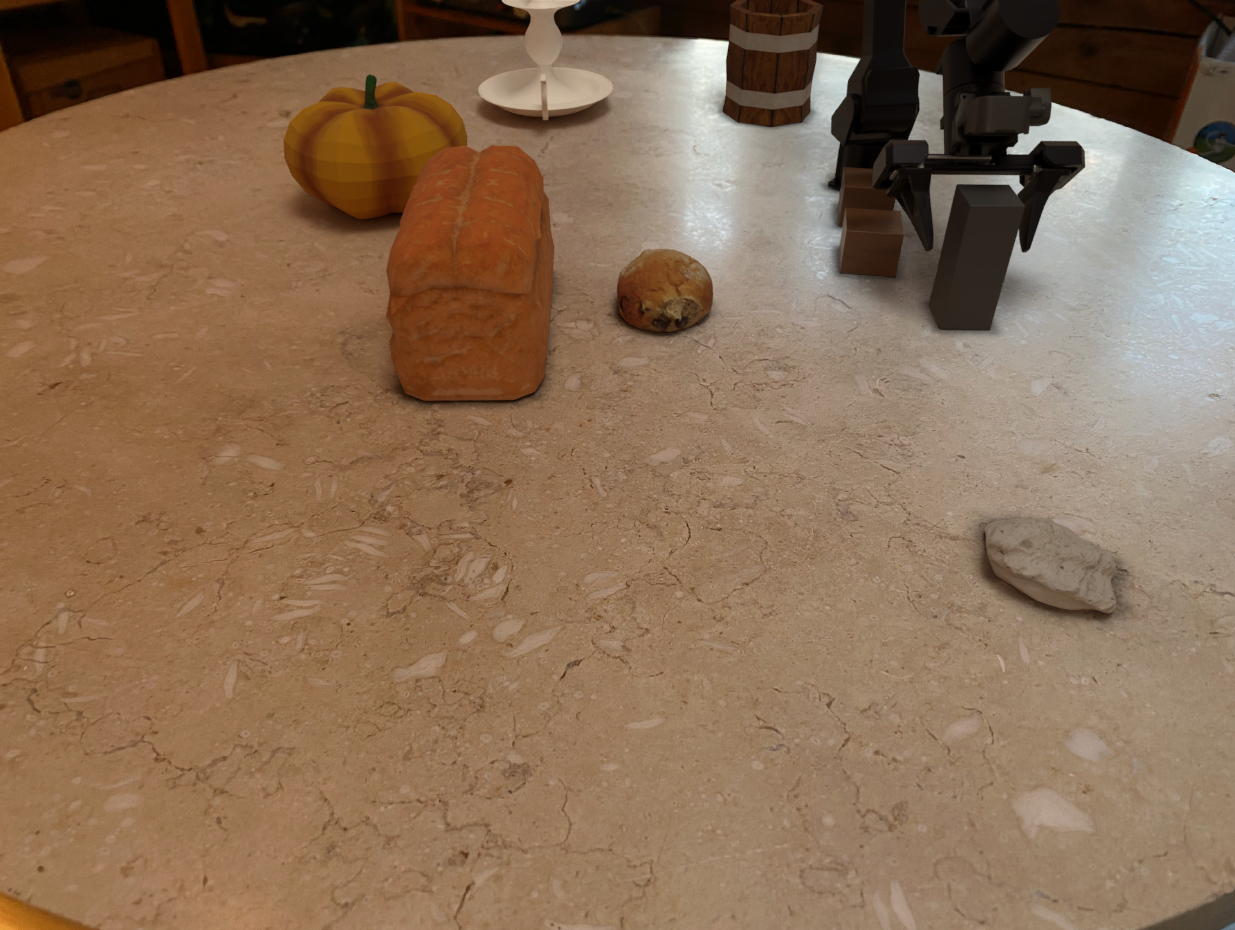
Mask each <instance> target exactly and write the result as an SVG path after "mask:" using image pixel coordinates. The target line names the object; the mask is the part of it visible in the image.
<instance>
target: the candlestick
mask: <svg viewBox="0 0 1235 930" xmlns="http://www.w3.org/2000/svg"><path fill="white" fill-rule="evenodd" d="M580 1H581V0H501V2H502V3H503V4H504V5H507V6H510V7H513V8H517V9H520V10H524V11H526V12H527V13H528V14H529V16H530V21H529V24H528V27H527V28H526V31H525V34H524V40H523V43H524V47H525V50H526V52H527V54H528V57H530V59H531V60H532V61H533V62H534V63H536V67H528V68H527V67H526V68H520V69H514V70H508V71H505V72H502V73H498V74H495V75H493V76H490V77H489V78H487V79H485V80H484V81H483V82H481V83H480V85H478V89H477V92H478V95H479V96H480V97H481V98H482V99H483V100H485V101H486V102H488V103H490V104H493V105H496V106H497V107H499V108H500V109H502V110H504V111H507V112H510V113H514V115H519V116H524V117H535V118H542V121H548V120H549V118H550V117H563V116H568V115H572V114H576V113H578V112H582V111H585V110H586V109H589V108H590V107H592V106H594V105H595V104H596V103H597V102H600V101H601V100H604V99H605V98H607V97H608V96H609V95H610V94H611V93H612V92H613V90H614V85H613V83H612V82H611V80H610V79H608V78H607V77H606V76H604V75H602V74H600V73H596V72H593V71H589V70H585V69H580V68H573V67H562V66H561V67H560V66H559V67H558V66H555V67H553V63H554V62H555V61H556V60H557V59H558V57H559V55H560V54H561V51H562V48H563V41H564V40H563V35H562V33H561V31H560V29H559V27H558V25H557V23H556V21H555V13H556V12H557V11H558V10H561V9H563V8H567V7H570V6H573V5H575V4H577V3H579V2H580Z"/></svg>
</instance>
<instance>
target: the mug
mask: <svg viewBox="0 0 1235 930" xmlns="http://www.w3.org/2000/svg"><path fill="white" fill-rule="evenodd" d="M728 7H729V35H728V45H727V52H726V57H725V75H726V76H725V77H726V79H725V80H726V81H725V96H724V101H723V106H722V113H723V114H725V115H726V116H728V117H729V118H731V119H732V120H734V121H735V122H737V123H739V124H740V123H741V124H746V125H747V124H748V125H754V126H762V127H767V128H773V127H780V126H788V125H794V124H801V123H803V122H804V120H805V119H806V118H807V117H808V116H809V114H810V113H811V107H812V106H811V105H812V104H811V102H812V101H811V99H812V98H811V96H812V87H813V79H814V75H815V70H816V66H817V65H816V64H817V58H818V57H817V55H818V37H819V29H820V22H821V17H822V14H823V10H824V5H823V4H821V3H819V2H816V1H813V0H735V1H733V2H732V3H731V4H730V5H729V6H728Z"/></svg>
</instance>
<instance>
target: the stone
mask: <svg viewBox="0 0 1235 930" xmlns="http://www.w3.org/2000/svg"><path fill="white" fill-rule="evenodd" d="M983 532H984V534H985V549H986V555H987V558H988V561H989V563H990V567H991V568H992V571H993V574H995V576H996V577H998V578H999V579H1001V580H1002V581H1004V582H1006V583H1008V584H1009V585H1011V586H1012V587H1014V588H1015V589H1017V590H1018V591H1019V592H1021V593H1023V594H1025V595H1026V596H1028V597H1030V598H1031V599H1033V600H1035V601H1036V602H1040V603H1043V604H1045V605H1046V606H1047V605H1048V606H1052V607H1055V608H1058V609H1063V610H1064V609H1065V610H1070V611H1071V610H1073V611H1079V610H1091V611H1092V610H1093V611H1097V612H1100V613H1103V614H1111V613H1113V612H1114V611H1115V609H1116V608H1117V607H1116V604H1117V603H1118V602H1117V600H1116V595H1115V592H1114V588H1113V585H1112V579H1113V578H1114V576H1115V575H1116V574H1117V566H1116V563H1115V561H1114V557H1113V556H1112V554H1111V553H1110V552H1109V551H1106V549H1104V548H1103V547H1101V546H1099V545H1098V544H1096V543H1094V542H1093V541H1088V540H1086V539H1083V538H1081V537H1080V536H1078V535H1077V534H1076V533H1075V532H1074V530H1072V529H1071V528H1070V527H1068V526H1065V525H1064V524H1060V523H1057V522H1055V521H1054V520H1053V519H1052V518H1051V517H1050V518H1046V517H1025V518H1024V517H1016V518H1006V519H1002V520H1001V519H998V520H995V521H992V522H990V523H988V524H987V525H986V526H985V527H984V531H983Z"/></svg>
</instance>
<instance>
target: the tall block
mask: <svg viewBox="0 0 1235 930" xmlns="http://www.w3.org/2000/svg"><path fill="white" fill-rule="evenodd" d="M1024 208H1025V205H1024V204H1023V203H1022V201H1021V200H1020V199H1019V197H1018V196H1017V193H1016V192H1015V191H1014V189H1013V188H1012V186H1011V184H994V183H993V184H986V183H985V184H980V183H976V184H973V183H971V184H970V183H960V184H959V183H957V184H956V185H955V189H954V194H953V198H952V202H951V207H950V211H949V215H948V219H947V223H946V228H945V232H944V236H943V240H942V245H941V249H940V253H939V258H938V262H937V267H936V271H935V275H934V278H933V279H934V280H933V284H932V289H931V292H930V297H929V302H928V307H929V309H930V311H931V313H932V316H933V317H934V319H935V322H936V324H937V326H938V328H939V330H961V331H964V330H965V331H969V330H970V331H990V330H991V328H992V324H993V321H994V319H995V318H994V317H995V314H996V311H997V307H998V303H999V301H1000V296H1001V294H1002V289H1003V287H1004V282H1005V279H1006V275H1007V272H1008V268H1009V265H1010V261H1011V258H1012V254H1013V252H1014V251H1013V250H1014V247H1015V244H1016V240H1017V237H1018V234H1019V226H1020V223H1021V219H1022V216H1023V212H1024Z"/></svg>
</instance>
